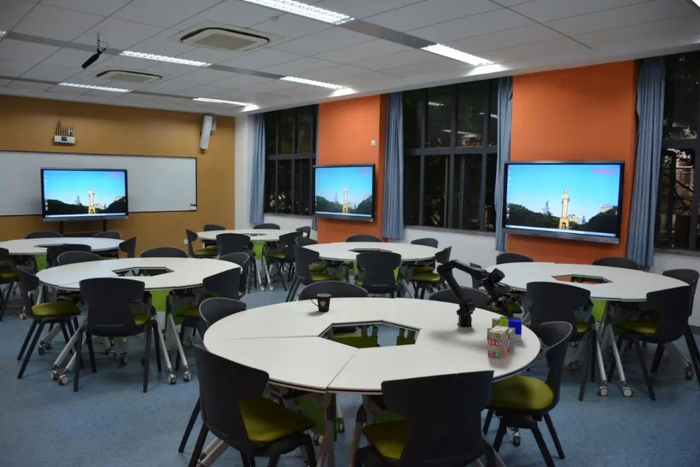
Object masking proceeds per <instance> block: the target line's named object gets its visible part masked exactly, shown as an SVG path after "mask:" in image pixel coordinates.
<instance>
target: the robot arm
mask: <svg viewBox="0 0 700 467" xmlns="http://www.w3.org/2000/svg"><path fill="white" fill-rule="evenodd" d="M453 269H456V270H460V271H461V272H463V273H466V274H468V275H470V276H471V278H472V279H474V280H476V281H478V282H479V281H480V282H479V283H478V288H483V289H484V290H485V291H486V292H487V294H486V295H487V296H488V297H490V298H489V299H487V301H485V305H486V307H487V308H491V306H492V305H493V304H494V303H495V305H494V307H495V308H497V309H500V310H501V311H503V312H505V313H506V314H510V313H511V311H510V307H509V305H508V302H509V301H510V300H511V299H512V298H513V297H514V295H513V294H512V292H511V289H512V287H511V285H509V284H505V285H504V286H502V287H500V286H497V285H498V284H499V283H500V282H501V281H502V280H503V279H504V278H506V275H505V273H504V272H503V271H502V270H500V269H499V268H498V267H495V268H493V270H492V271H491V272H489V271H488V270H487V269H485V268H479V267H474V266H473V265H469V264H468V263H465V262H463V261H460V260H459V259H456V258H455V259H450V260H449V261H447V262H445V263H442V264H438V265H437V266H436V273H437V274H438V275H439V277H441V278H442V279H444V280H445V282H446V284H448V287H449V288H450V290H451V291H452V293H453V294H454V296H455V297H456V299H457V301H458V307H459V308H458V309H457V310H456V315H457V316H458V318H457V319H458V322H457V323H456V324H457V325H458V326H459V327H462V328H463V327H464V328H465V327H466V328H467V327H473V325H472V322H473V317H472V315H473V313H474V312H475V311H476V306H477V305H476V302H475V301H474V300H473V297H468V296H467V295H466V294H465V293H464V291H463V290H462V288H461V286H460V284H459V283H458V282H457V280H456V279H455V277H454V274H453V273H454V272H453Z"/></svg>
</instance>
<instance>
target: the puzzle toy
mask: <svg viewBox="0 0 700 467" xmlns="http://www.w3.org/2000/svg"><path fill="white" fill-rule="evenodd" d="M499 318H500V326H503V327H509V329H513V342H522V331H523V330H522V329H523V321H522V319H521V317H519V316H508V315H507V316H504V315H500V317H499Z"/></svg>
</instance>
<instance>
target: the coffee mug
mask: <svg viewBox="0 0 700 467" xmlns="http://www.w3.org/2000/svg"><path fill="white" fill-rule="evenodd" d="M331 297H332V295H331V294H329V293H318V294H316V296H312V297H310V298H311V299H310V301H311V302H312V304H313V305H315V306H316V307H317V308H318V312H319V313H328V312H329V311H330V305H331ZM313 299H316V301H317V304H316V303H315V302H314V301H313Z"/></svg>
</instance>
